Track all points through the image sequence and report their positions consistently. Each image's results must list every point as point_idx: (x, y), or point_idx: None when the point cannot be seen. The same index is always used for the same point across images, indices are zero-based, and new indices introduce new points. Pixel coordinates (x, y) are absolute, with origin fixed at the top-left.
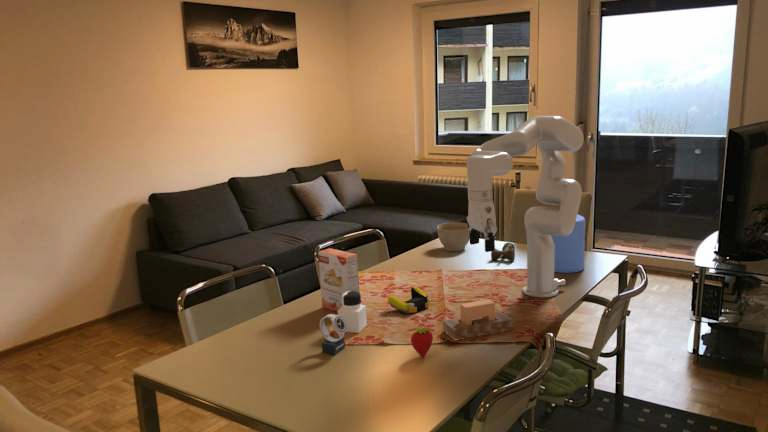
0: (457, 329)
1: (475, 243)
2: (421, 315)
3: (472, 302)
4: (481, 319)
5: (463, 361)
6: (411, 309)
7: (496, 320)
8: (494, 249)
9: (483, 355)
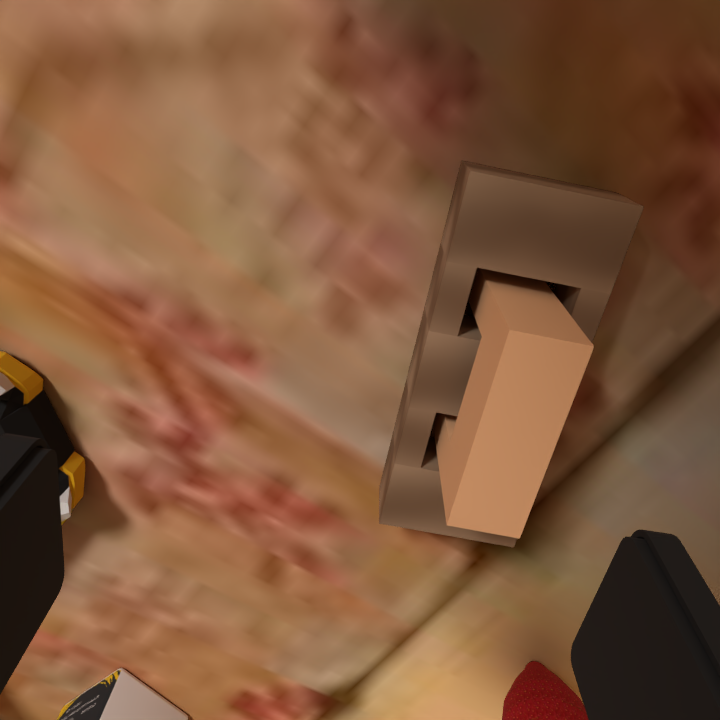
0: None
1: (55, 514)
2: (127, 451)
3: (476, 456)
4: None
5: None
6: (77, 496)
7: (578, 304)
8: (676, 546)
9: (711, 505)
